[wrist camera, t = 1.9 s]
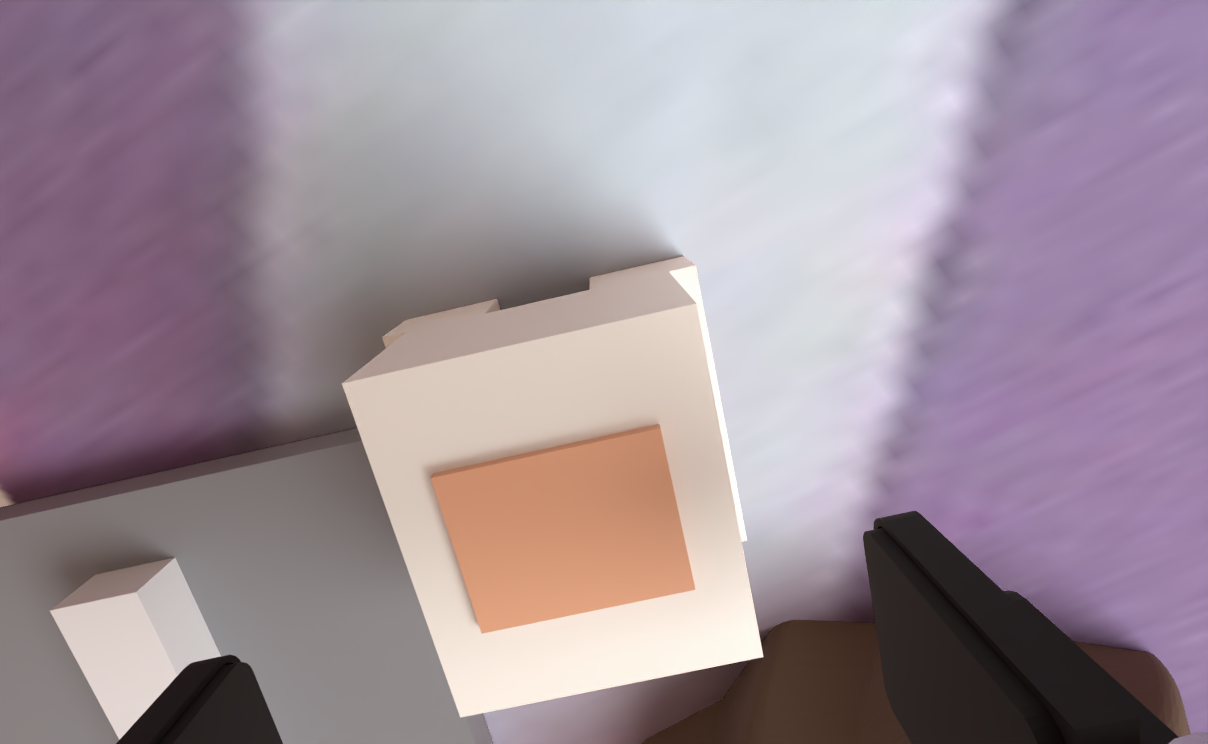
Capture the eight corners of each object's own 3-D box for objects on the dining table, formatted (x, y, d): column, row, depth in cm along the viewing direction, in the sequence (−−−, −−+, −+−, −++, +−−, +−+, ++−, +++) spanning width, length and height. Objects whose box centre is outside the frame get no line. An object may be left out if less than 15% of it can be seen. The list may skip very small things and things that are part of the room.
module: (406, 319, 17) (302, 395, 11) (683, 255, 16) (735, 297, 10) (481, 555, 19) (428, 731, 13) (730, 502, 18) (798, 658, 12)
